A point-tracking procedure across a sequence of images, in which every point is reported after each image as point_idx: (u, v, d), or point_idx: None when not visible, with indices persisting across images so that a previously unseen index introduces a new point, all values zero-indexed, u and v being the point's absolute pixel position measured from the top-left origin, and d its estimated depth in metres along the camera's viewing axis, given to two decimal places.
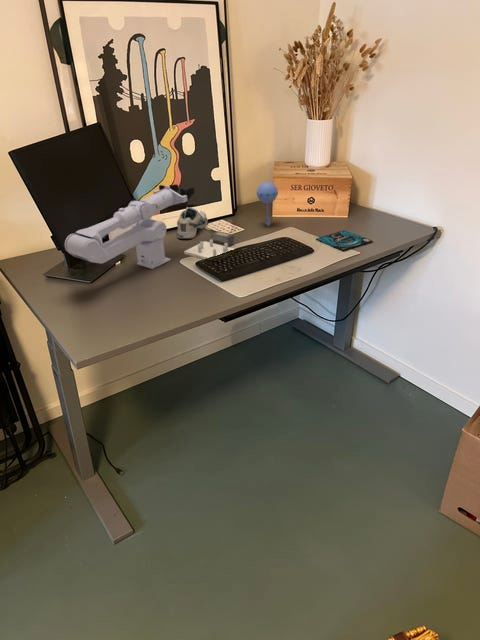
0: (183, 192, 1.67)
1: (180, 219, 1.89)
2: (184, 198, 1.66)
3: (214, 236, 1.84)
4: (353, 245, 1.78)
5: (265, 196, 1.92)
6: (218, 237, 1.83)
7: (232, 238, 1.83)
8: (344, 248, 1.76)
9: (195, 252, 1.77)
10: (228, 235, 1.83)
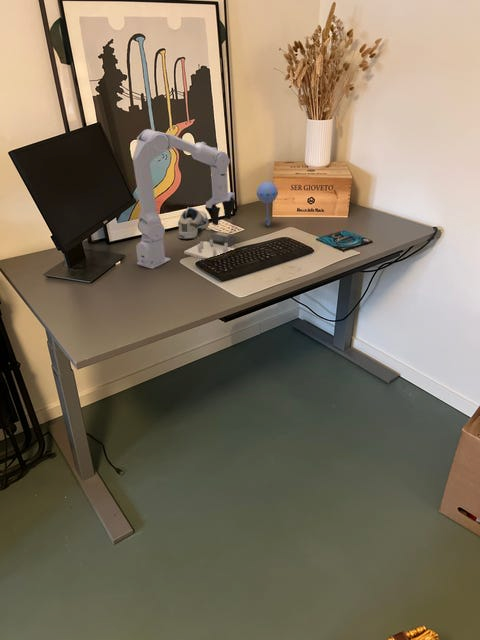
0: (214, 208, 1.74)
1: (181, 219, 1.88)
2: (208, 204, 1.72)
3: (214, 236, 1.84)
4: (353, 245, 1.78)
5: (265, 196, 1.92)
6: (218, 237, 1.83)
7: (232, 238, 1.84)
8: (344, 248, 1.76)
9: (195, 252, 1.77)
10: (228, 235, 1.83)
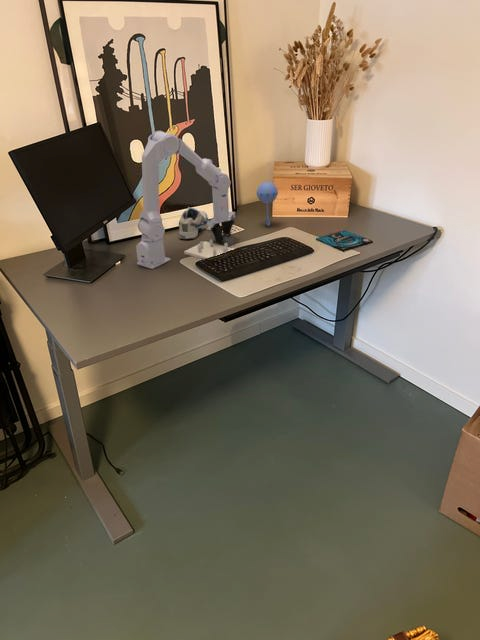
0: (218, 226, 1.78)
1: (182, 219, 1.88)
2: (210, 224, 1.76)
3: (214, 236, 1.84)
4: (353, 245, 1.78)
5: (265, 196, 1.92)
6: None
7: (232, 237, 1.83)
8: (344, 248, 1.76)
9: (195, 252, 1.77)
10: (228, 234, 1.83)
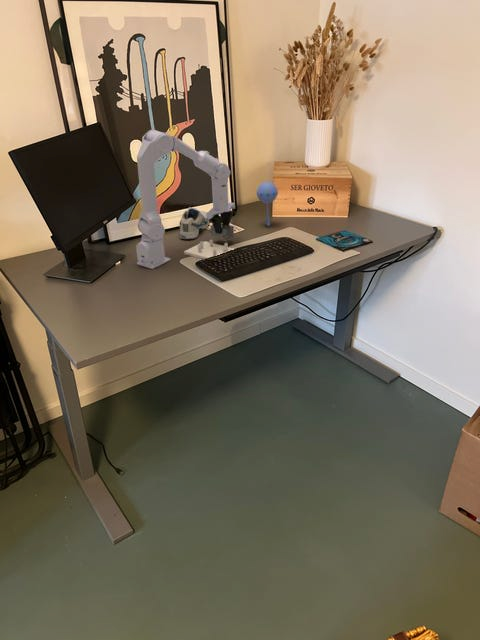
0: (218, 217, 1.77)
1: (182, 219, 1.88)
2: (209, 214, 1.74)
3: (213, 227, 1.83)
4: (353, 245, 1.78)
5: (265, 196, 1.92)
6: None
7: (232, 230, 1.82)
8: (344, 248, 1.76)
9: (195, 252, 1.77)
10: (228, 226, 1.81)
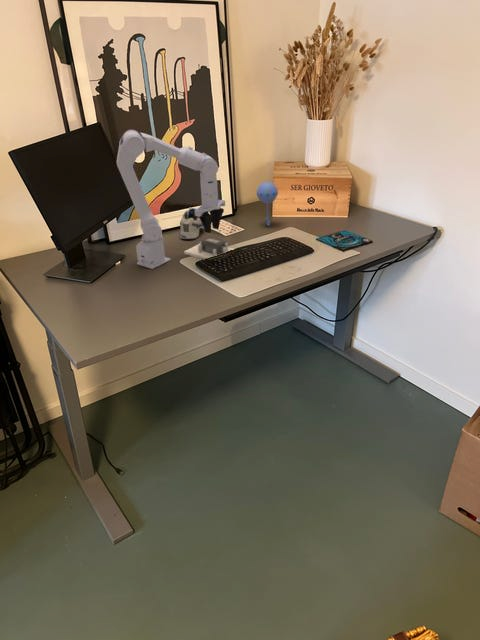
0: (207, 215, 1.67)
1: (183, 219, 1.88)
2: (197, 212, 1.64)
3: (204, 243, 1.75)
4: (353, 245, 1.78)
5: (265, 196, 1.92)
6: (208, 244, 1.74)
7: (223, 245, 1.74)
8: (344, 248, 1.76)
9: (195, 252, 1.77)
10: (219, 242, 1.74)
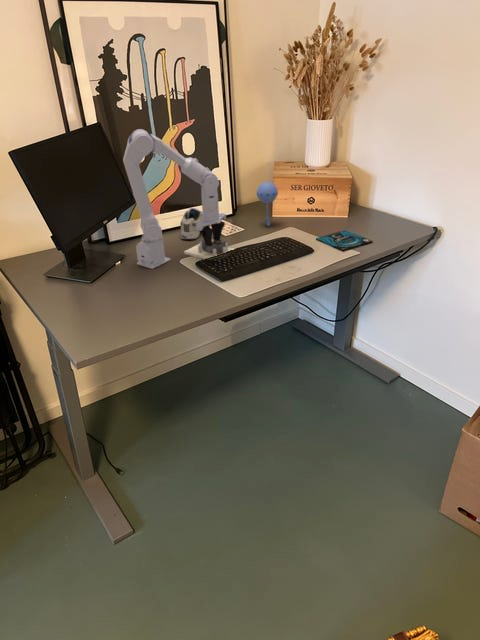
0: (207, 229, 1.69)
1: (183, 220, 1.88)
2: (198, 226, 1.66)
3: None
4: (353, 245, 1.78)
5: (265, 196, 1.92)
6: None
7: (223, 245, 1.74)
8: (344, 248, 1.76)
9: (195, 252, 1.77)
10: (219, 241, 1.74)
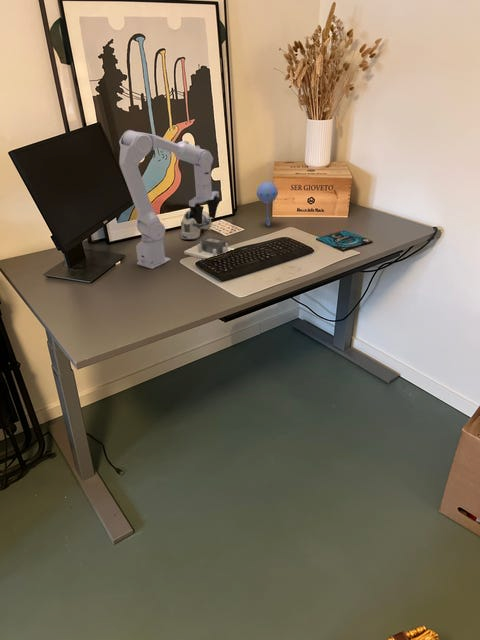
0: (198, 207, 1.72)
1: (184, 220, 1.88)
2: (191, 202, 1.70)
3: (205, 242, 1.75)
4: (353, 245, 1.78)
5: (265, 196, 1.92)
6: (209, 244, 1.74)
7: (223, 245, 1.74)
8: (344, 248, 1.76)
9: (195, 252, 1.77)
10: (219, 241, 1.74)
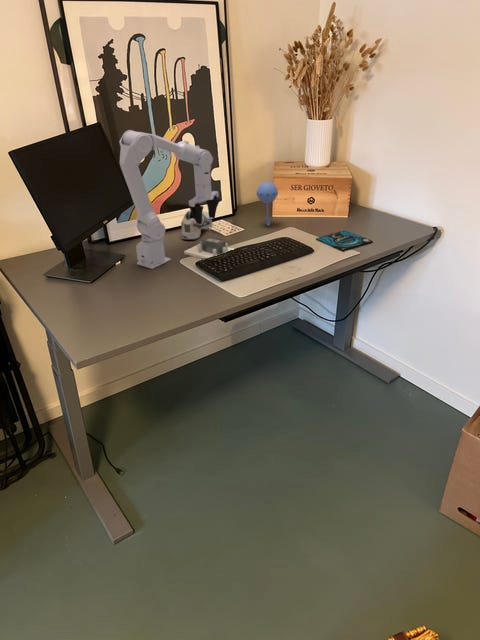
0: (198, 206, 1.72)
1: (184, 220, 1.88)
2: (191, 202, 1.71)
3: (205, 242, 1.75)
4: (353, 245, 1.78)
5: (265, 196, 1.92)
6: (209, 244, 1.74)
7: (223, 245, 1.74)
8: (344, 248, 1.76)
9: (195, 252, 1.77)
10: (219, 241, 1.74)
